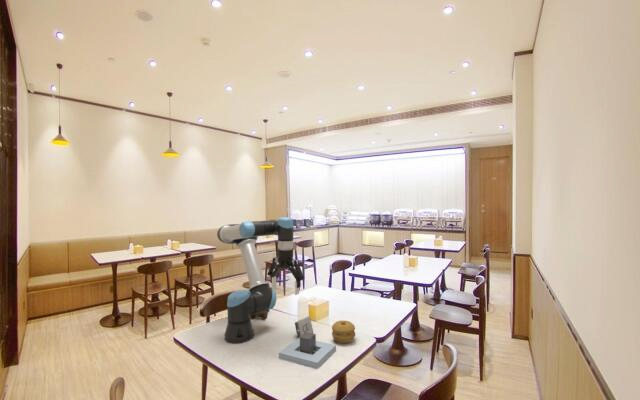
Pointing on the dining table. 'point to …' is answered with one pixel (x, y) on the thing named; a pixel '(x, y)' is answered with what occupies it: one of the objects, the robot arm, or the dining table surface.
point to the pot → (343, 331)
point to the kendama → (260, 315)
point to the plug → (308, 343)
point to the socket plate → (306, 359)
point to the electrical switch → (303, 326)
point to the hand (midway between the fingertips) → (285, 292)
